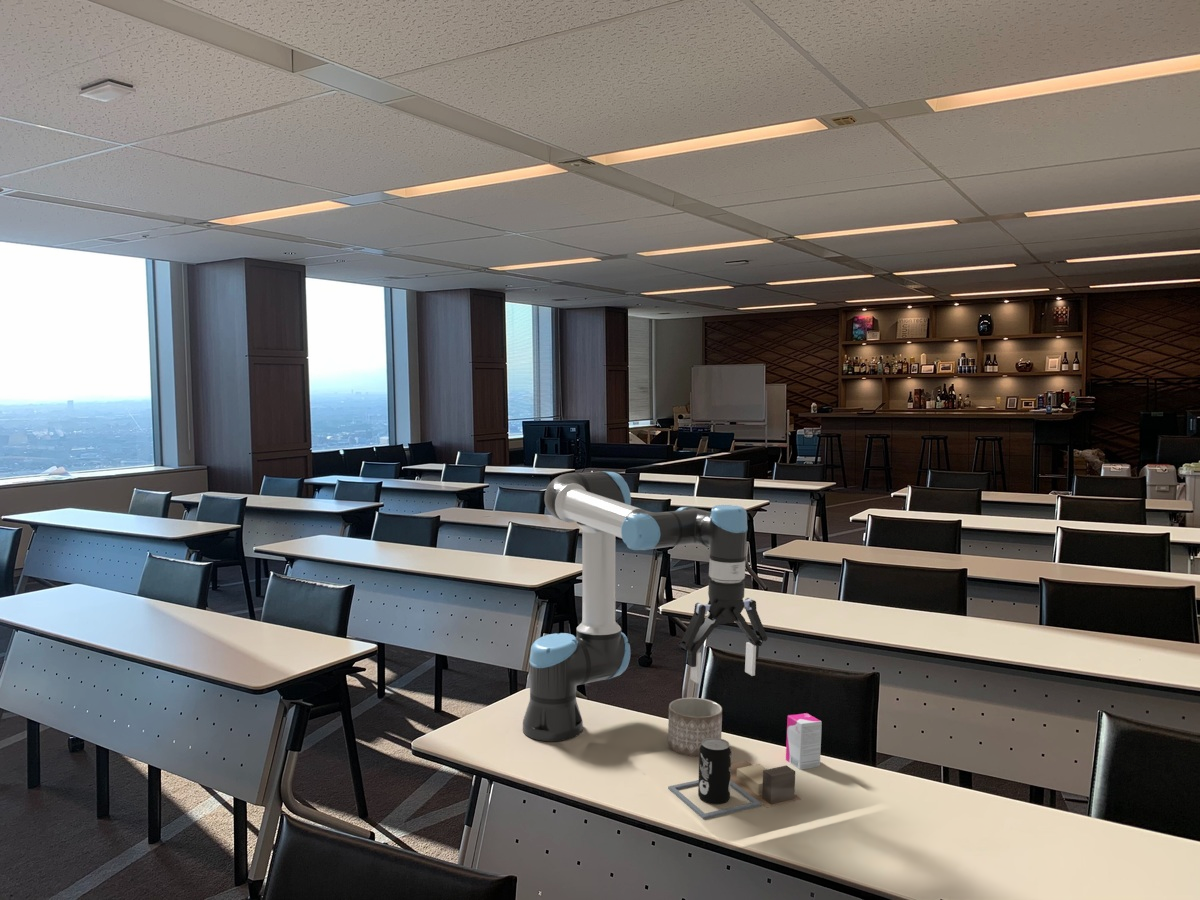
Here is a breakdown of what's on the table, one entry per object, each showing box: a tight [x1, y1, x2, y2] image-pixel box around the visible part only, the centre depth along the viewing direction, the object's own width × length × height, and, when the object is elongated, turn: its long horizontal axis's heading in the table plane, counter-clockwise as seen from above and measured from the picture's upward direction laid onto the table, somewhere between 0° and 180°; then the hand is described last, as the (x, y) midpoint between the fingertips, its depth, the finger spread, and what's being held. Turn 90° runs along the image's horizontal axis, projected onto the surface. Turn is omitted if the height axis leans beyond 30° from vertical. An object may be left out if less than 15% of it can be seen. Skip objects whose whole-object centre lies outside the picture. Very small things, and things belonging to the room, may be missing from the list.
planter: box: [667, 697, 723, 757], centre depth 201 cm, size 13×13×10 cm
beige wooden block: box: [737, 763, 768, 796], centre depth 181 cm, size 8×6×2 cm
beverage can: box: [697, 738, 732, 805], centre depth 175 cm, size 7×7×12 cm
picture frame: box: [667, 779, 762, 820], centre depth 175 cm, size 14×14×2 cm
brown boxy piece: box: [730, 760, 802, 808], centre depth 182 cm, size 20×9×7 cm, turn 25°
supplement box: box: [785, 712, 823, 770], centre depth 192 cm, size 6×6×12 cm
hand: (722, 677), depth 178 cm, fingers open, 13 cm apart
